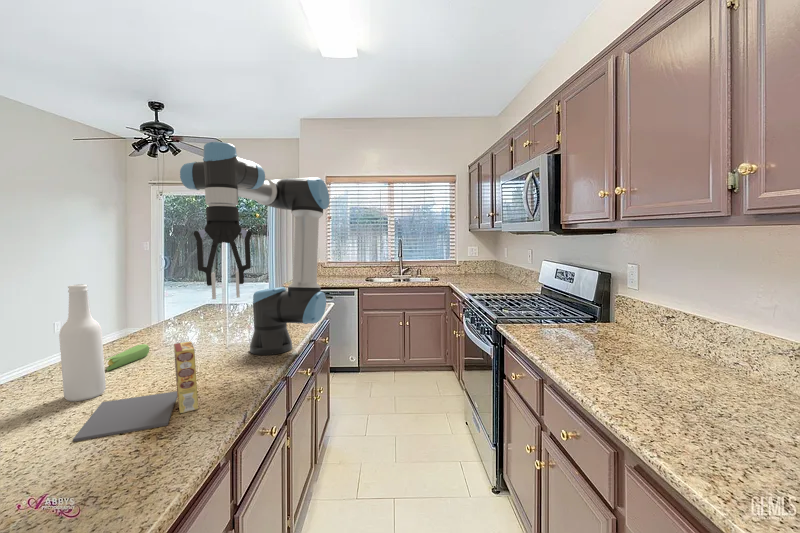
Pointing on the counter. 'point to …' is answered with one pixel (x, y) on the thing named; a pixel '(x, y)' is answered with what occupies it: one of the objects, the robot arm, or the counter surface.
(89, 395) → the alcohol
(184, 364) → the candy box
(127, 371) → the counter surface
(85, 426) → the rubber mat
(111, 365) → the edible corn
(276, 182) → the robot arm
